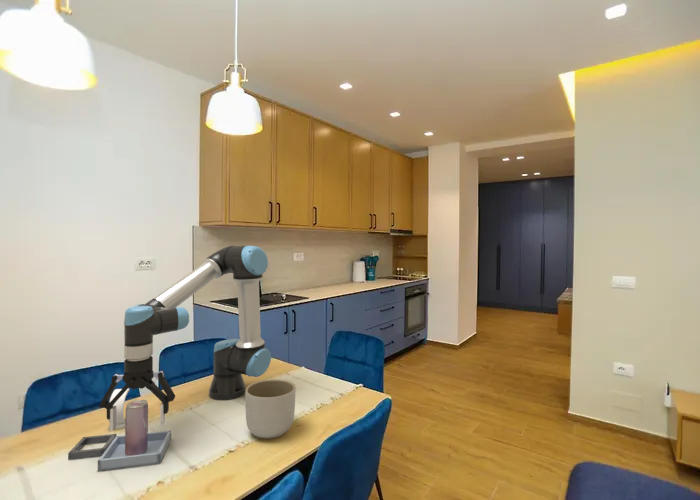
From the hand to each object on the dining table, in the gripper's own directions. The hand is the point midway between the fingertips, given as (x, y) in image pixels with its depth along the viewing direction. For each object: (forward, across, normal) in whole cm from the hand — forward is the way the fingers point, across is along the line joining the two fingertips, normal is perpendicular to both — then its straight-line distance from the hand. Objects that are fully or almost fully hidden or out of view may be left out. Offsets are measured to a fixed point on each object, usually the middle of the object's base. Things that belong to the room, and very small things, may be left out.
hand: (138, 426), depth 110 cm
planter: (+9, -40, -5) cm, 41 cm away
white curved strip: (+9, +12, -21) cm, 26 cm away
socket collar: (+8, +14, -6) cm, 17 cm away
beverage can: (+8, 0, 0) cm, 8 cm away
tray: (+8, 0, 0) cm, 8 cm away
